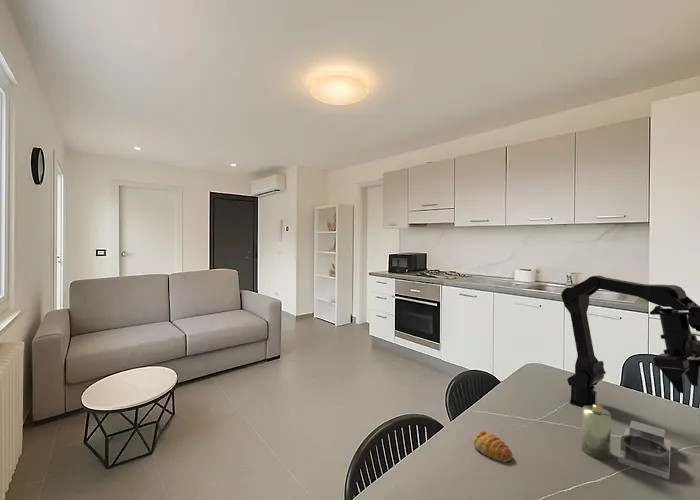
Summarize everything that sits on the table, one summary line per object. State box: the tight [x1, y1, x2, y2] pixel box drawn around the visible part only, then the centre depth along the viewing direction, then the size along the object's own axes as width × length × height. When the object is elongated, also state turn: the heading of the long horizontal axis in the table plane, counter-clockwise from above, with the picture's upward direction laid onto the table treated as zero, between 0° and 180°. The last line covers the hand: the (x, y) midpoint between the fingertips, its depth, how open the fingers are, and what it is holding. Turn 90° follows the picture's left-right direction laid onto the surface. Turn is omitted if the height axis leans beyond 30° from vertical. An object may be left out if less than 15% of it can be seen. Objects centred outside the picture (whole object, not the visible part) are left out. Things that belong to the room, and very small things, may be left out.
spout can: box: [581, 403, 612, 461], centre depth 90 cm, size 6×6×13 cm
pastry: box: [473, 430, 513, 463], centre depth 90 cm, size 9×7×4 cm
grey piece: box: [617, 420, 672, 481], centre depth 89 cm, size 9×18×4 cm, turn 136°
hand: (688, 389), depth 94 cm, fingers open, 9 cm apart
